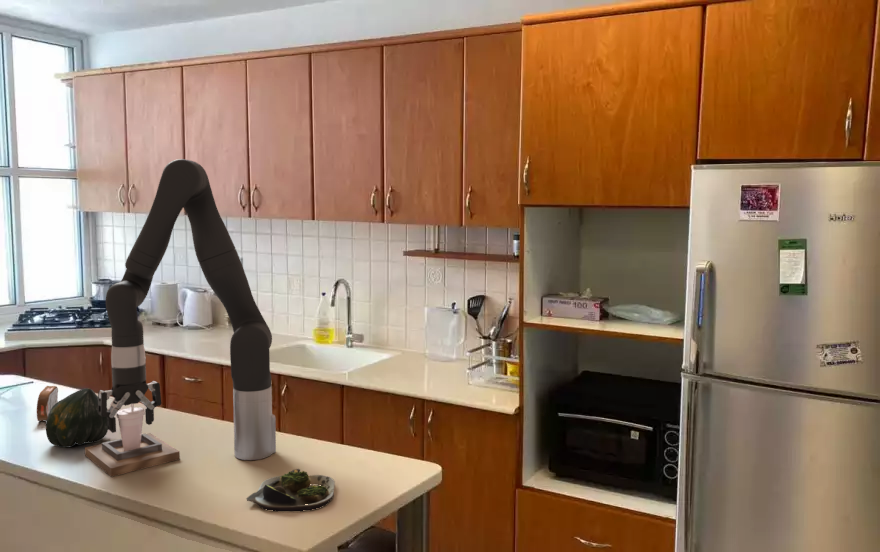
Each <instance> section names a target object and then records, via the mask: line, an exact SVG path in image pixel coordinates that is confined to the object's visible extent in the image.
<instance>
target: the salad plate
mask: <svg viewBox="0 0 880 552" xmlns="http://www.w3.org/2000/svg"><path fill="white" fill-rule="evenodd" d="M335 482H336V481H335V480H334V479H333V478H332V477H331V476H327V475H323V474H312V475H309V474H308V472H307V471H304V470H302V471H301V469H300V468H294V469H292V470H291V471H289V472H287V473H284V474H283V475H278V476H273V477H270V478H267V479H265V480H263V481H262V483H260V485H259V488H258V490H257V491H256V492H253V493H252V494H250V495H249V496H247V497H246V502H252V504H255V505H257V507H259V508H261V509H262V508H263V509H262V510H265V509H267V510H266V511H268V510H273V511H272V512H278V511H300V512H304V511H303V510H310V511H313V510H312V509H315V510H317V509H316V508H319V509H321V508H323V507H322V506H324V507H326V506H327V505H328V504H329V503H330V502H331V501H332V500H333V499H334V496H335V486H336V485H335ZM310 484H318V485H321V486H318V485H310ZM305 504H308V505H305ZM326 504H327V505H326ZM320 507H321V508H320Z"/></svg>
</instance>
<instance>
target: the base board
mask: <svg viewBox="0 0 880 552" xmlns="http://www.w3.org/2000/svg"><path fill="white" fill-rule="evenodd" d="M84 455H85V457H86V458H88V459H89V460H90V461H92V462H93V463H94V464H95V465H96V466H98V467H99V468H100V469H101V470H102V471H103V472H105V473H106V474H107V475H108V476H110V477H115V476H120V475H123V474H128V473H131V472H134V471H138V470H143V469H147V468H150V467H151V468H152V467H155V466H158V465H162V464H166V463H170V462H174V461H178V460H180V459H181V456H180V455H181V452H180V450H178V449H177V448H175V447H173V446H172V445H170V444H169V443H167V442H165V441H164V440H162V439H161V438H159V437H157V436H155V435H154V434H153V433H151V432H149V433H142V435H141V445H140V448H137V449H132V450H128V451H124V449H123V443H122V438H118V439H114V440H110V441H105V442H102V443H100V444H95V445H90V446H86V447H84Z"/></svg>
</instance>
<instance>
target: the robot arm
mask: <svg viewBox="0 0 880 552" xmlns="http://www.w3.org/2000/svg"><path fill="white" fill-rule="evenodd" d="M182 210H184V211H185V214H186V216H187V219H188V221H189V223H190V228H191V235H192V242H193V247H194V252H195V256H196V258H197V262H198V263H199V265H200V268H201V272H202V273H203V275H204V278H205V280H206V282H207V284H208V286H209V287H210V288H211V289H212V292H213V293H214V294H215V296H216V297H217V298H218V299H219V301H220V302H221V303H222V305H223V307H224V309H225V311H226V313H227V315H228V318H229V321H230V325H231V328H232V331H233V334H232V336H231V338H230V343H229V344H230V346H229V349H230V350H229V356H230V376H231V379H232V396H233V397H232V401H233V403H232V404H233V437H234V438H233V441H234V442H233V443H234V446H233V451H234V457H235V458H236V459H239V460H243V461H254V460H261V459H265V458H269V456H271V455H272V454H275V453H276V451H277V442H276V441H277V439H276V437H277V436H276V435H277V433H276V431H277V430H276V427H277V426H276V415H275V414H273V396H272V394H273V393H272V390H273V389H272V387H273V386H272V374H271V366H270V365H271V363H270V348H271V346H272V344H273V343H272V342H273V335H272V332H271V329H270V327H269V326H268V323H267V322H266V320H265V318H264V316H263V315H262V313H261V311H260V309H259V306H258V305H257V304H256V303H257V302H256V301H255V298H254V296H253V293H252V289H251V287H250V284H249V281H248V278H247V275H246V273H245V270H244V266H243V263H242V261H241V258H240V256H239V254H238V251H237V249H236V247H235V244H234V242H233V240H232V238H231V235H230V233H229V231H228V229H227V226H226V225H225V222H224V221H223V219H222V217H221V214H220V213H219V209H218V207H217V204H216V200H215V197H214V194H213V189H212V188H211V185H210V181H209V176H208V174H207V172H206V170H205V169H204V167H203V166H202V165H201V164H199V163H198V162H196V161H194V160H190V159H185V158H184V159H183V158H177V159H175V160H172V161H170V162H169V163H167V164H166V166H165V167H164V168H163V169H162V173H161V176H160V179H159V182H158V186H157V189H156V193H155V197H154V199H153V203H152V204H151V208H150V210H149V213H148V216H146V220H145V222H144V224H143V226H142V228H141V230H140V232H139V234H138V235H137V239H136V240H135V242H134V244H133V246H132V247H131V249H130V252H129V254H128V256H127V258H126V260H125V264H124V266H125V268H126V270H125V272H124V274H123V276H122V278H121V280H120V282H116V283H114V284H112V285H110V287H109V288H108V290H107V292H106V294H105V308H106V313H107V317H108V321H109V325H110V328H111V354H110V359H111V360H110V361H111V380H112V381H111V382H112V386H111V389H109V390H103V389H100V390H98V392H97V396H98V414H99V415H101V416H102V417H107V428H108V431H109V432H111V433H112V434H113V433H117V422H116V421H117V420H116V418H117V417H116V416H117V415H116V413H117V412H118V411H119V410H121V408H122V407H123V406H129V405H130V406H131V404H134V405H136V404H139V403H141V404H142V405H143V406H144V407H145V408H144V410H145V414H144V416H145V423H146V425H148V426H150V425H152V424H153V422H154V421H155V408H157V407H160V406H161V405H162V395H161V385H160V382H159V381H158V382H157V381H156V380H152V381H151V382H149V383H147V367H146V365H147V364H146V361H147V358H146V351H145V343H144V328H143V324H142V322H141V321H140V320H139V318H138V311H137V309H138V307H140V306H141V305H142V304H143V302H145V300H146V298H147V296H148V294H149V291H150V288H151V286H152V283H153V278H154V275H155V273H156V272H157V270H158V268H159V266H160V264H161V262H162V259H163V258H164V256H165V254H166V252H167V249H168V247H169V244H170V240H171V236H172V233H173V230H174V227H175V225H176V221H177V219H178V217H179V216H180V213H181V212H182ZM148 389H149V391H151V396H152V397H151V399H152V401H150V400H149V398H147V396H145V395H146V393H147V391H148ZM110 396H112V397H113V398H114V399H113V400H112V402H111V403H110V405H109V408H108V401H109V399H110ZM107 409H108V410H107Z"/></svg>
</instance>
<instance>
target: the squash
mask: <svg viewBox="0 0 880 552" xmlns="http://www.w3.org/2000/svg"><path fill="white" fill-rule="evenodd" d="M108 409H109V408H107V410H108ZM108 432H109V430H108V428H107V417H102V416H101V415H99V414H98V394H97V393H96V392H95V391H94V390H93V389H91V388H90V387H87V388H82V389H79V390H77V391H75V392H73V393H71V394H68V396H66V397H63V399H61V400H59V401H58V402H57V403H56V404H55V405H54V406H53V407H52V408H51V410H50V412H49V415H48V418H47V420H46V421H45V433H46V437H47V441H48V442H49V443H50V444H51V445H53V446H55V447H60V448H61V447H64V448H71V447H74V446H75V445H79V446H80V445H83V444H89V443H95V442H99V441H101V440H103V439H104V438H105V436H106V435H107V433H108Z"/></svg>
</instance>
